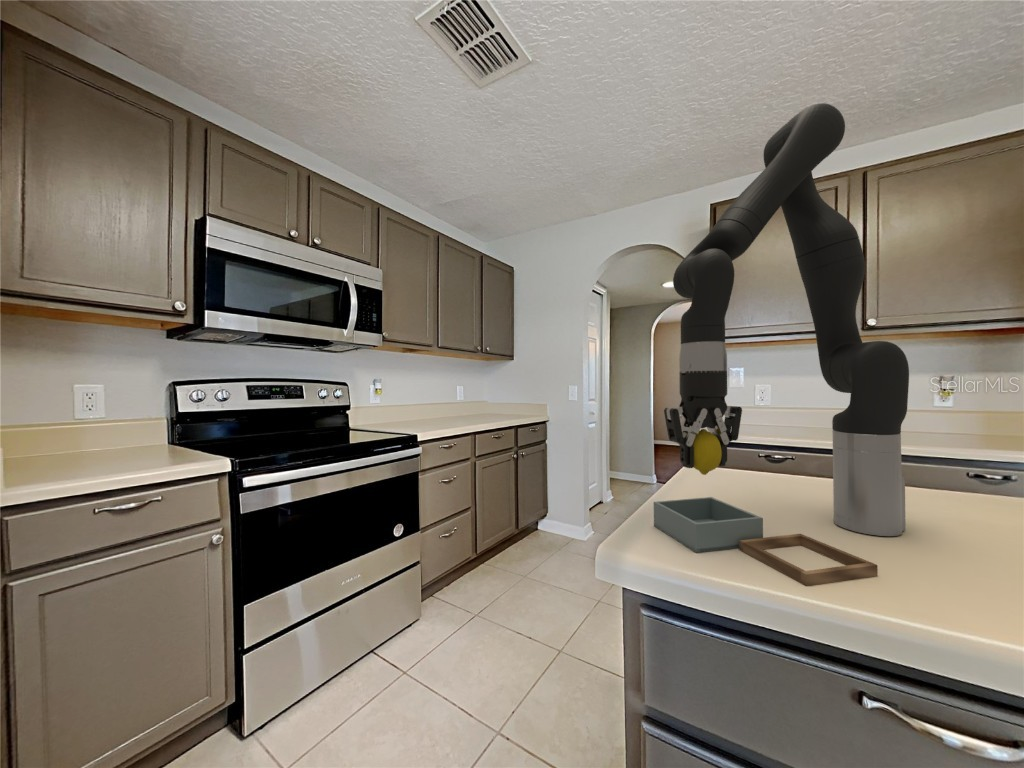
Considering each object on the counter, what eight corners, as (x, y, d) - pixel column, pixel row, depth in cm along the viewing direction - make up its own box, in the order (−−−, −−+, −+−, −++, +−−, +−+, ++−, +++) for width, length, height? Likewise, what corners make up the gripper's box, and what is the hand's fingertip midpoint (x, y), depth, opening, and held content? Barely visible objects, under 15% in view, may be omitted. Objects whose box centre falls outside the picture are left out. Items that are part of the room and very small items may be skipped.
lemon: (726, 479, 67) (725, 431, 67) (690, 478, 68) (690, 430, 68) (716, 471, 72) (716, 427, 72) (683, 470, 73) (683, 426, 73)
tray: (800, 542, 66) (800, 533, 66) (877, 575, 55) (877, 564, 55) (739, 549, 64) (739, 540, 64) (806, 585, 52) (806, 574, 52)
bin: (711, 520, 77) (711, 496, 77) (763, 545, 65) (762, 517, 65) (653, 525, 75) (653, 501, 75) (696, 553, 63) (696, 524, 63)
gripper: (723, 369, 75) (724, 460, 75) (653, 370, 72) (654, 464, 72) (755, 368, 68) (756, 468, 68) (678, 369, 65) (679, 473, 65)
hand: (703, 465), depth 70 cm, fingers closed on lemon, 5 cm apart
